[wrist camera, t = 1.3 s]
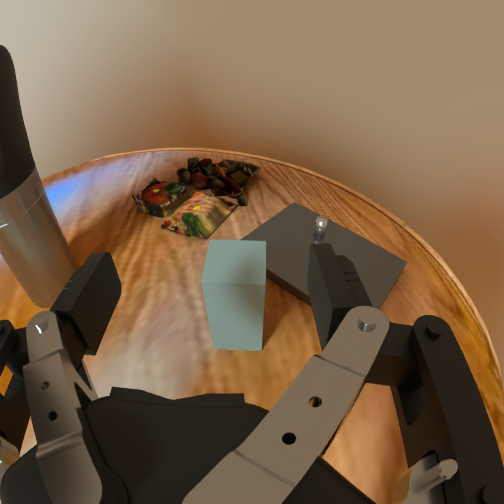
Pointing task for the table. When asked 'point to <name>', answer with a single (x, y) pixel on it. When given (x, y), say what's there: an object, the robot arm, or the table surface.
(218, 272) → the block
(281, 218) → the mounting plate
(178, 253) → the table surface
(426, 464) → the robot arm
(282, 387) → the table surface
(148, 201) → the food
